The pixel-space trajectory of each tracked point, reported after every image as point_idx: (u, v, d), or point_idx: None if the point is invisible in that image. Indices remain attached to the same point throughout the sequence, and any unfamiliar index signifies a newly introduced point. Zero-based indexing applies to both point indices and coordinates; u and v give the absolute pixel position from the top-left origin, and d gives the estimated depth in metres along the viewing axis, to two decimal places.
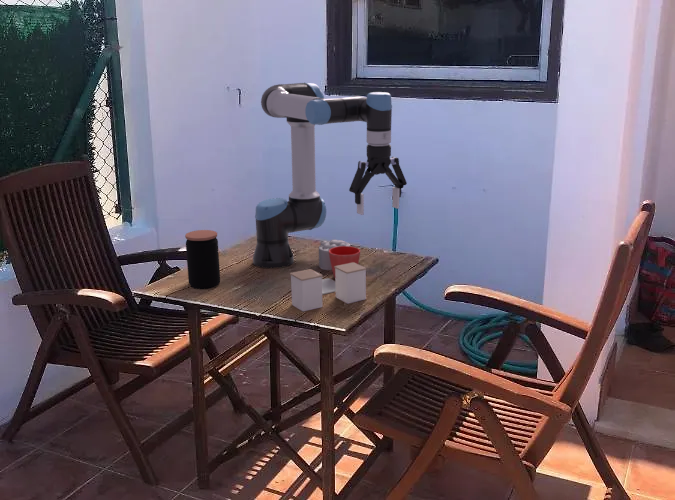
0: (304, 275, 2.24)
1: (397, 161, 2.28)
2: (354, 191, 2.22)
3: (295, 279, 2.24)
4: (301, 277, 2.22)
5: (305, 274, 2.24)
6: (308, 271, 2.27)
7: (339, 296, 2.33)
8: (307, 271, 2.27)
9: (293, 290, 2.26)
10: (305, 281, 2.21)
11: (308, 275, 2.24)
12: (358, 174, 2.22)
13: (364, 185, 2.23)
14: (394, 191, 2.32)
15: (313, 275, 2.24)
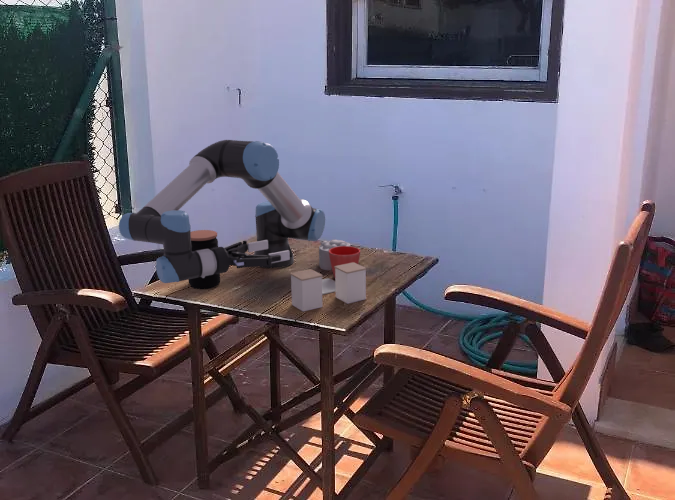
0: (304, 275, 2.24)
1: None
2: None
3: (295, 279, 2.24)
4: (301, 277, 2.22)
5: (305, 274, 2.24)
6: (308, 271, 2.27)
7: (339, 296, 2.33)
8: (307, 271, 2.27)
9: (293, 290, 2.26)
10: (305, 281, 2.21)
11: (308, 275, 2.24)
12: None
13: None
14: None
15: (313, 275, 2.24)
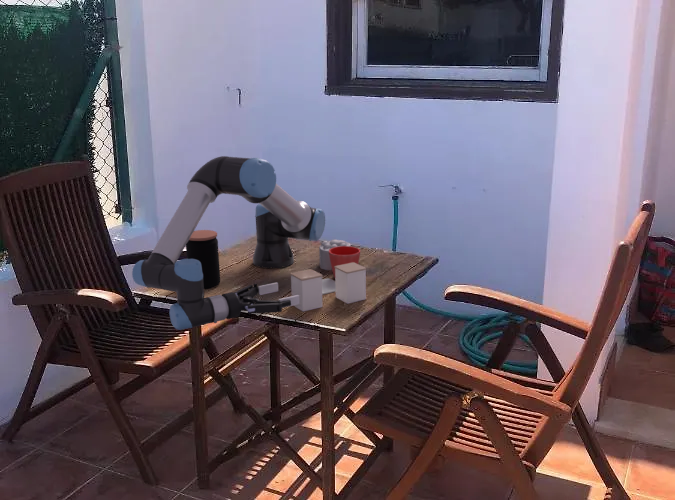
0: (304, 275, 2.24)
1: None
2: None
3: (295, 279, 2.24)
4: (301, 277, 2.22)
5: (305, 274, 2.24)
6: (308, 271, 2.27)
7: (339, 296, 2.33)
8: (307, 271, 2.27)
9: (293, 290, 2.26)
10: (305, 281, 2.21)
11: (308, 275, 2.24)
12: None
13: None
14: None
15: (313, 275, 2.24)
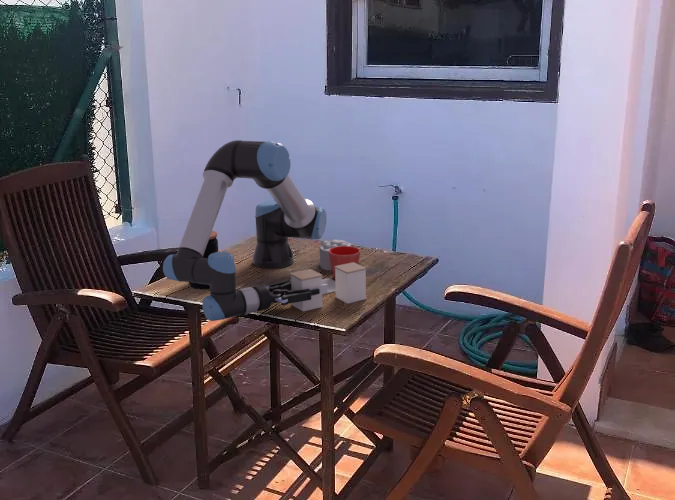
0: (304, 275, 2.24)
1: None
2: None
3: (295, 279, 2.24)
4: (301, 277, 2.22)
5: (305, 274, 2.24)
6: (308, 271, 2.27)
7: (339, 296, 2.33)
8: (307, 271, 2.27)
9: None
10: (305, 281, 2.21)
11: (308, 275, 2.24)
12: None
13: None
14: None
15: (313, 275, 2.24)
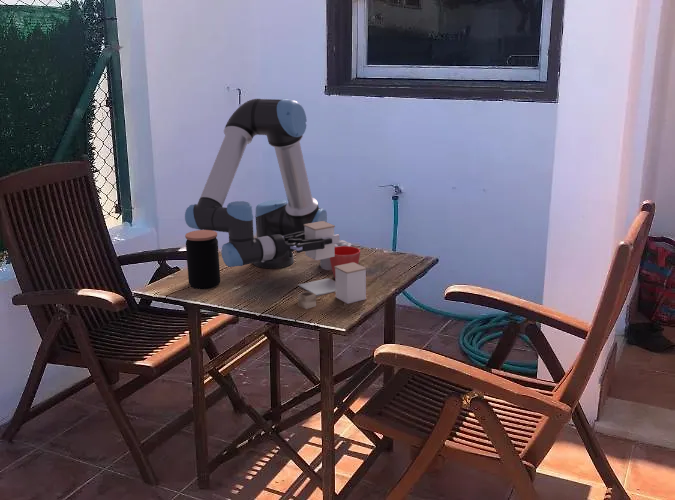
0: (317, 226, 2.35)
1: None
2: None
3: (308, 229, 2.35)
4: (314, 227, 2.33)
5: (318, 225, 2.35)
6: (321, 223, 2.38)
7: (339, 296, 2.33)
8: (320, 222, 2.38)
9: None
10: (318, 231, 2.32)
11: (321, 226, 2.35)
12: None
13: None
14: None
15: (326, 226, 2.34)
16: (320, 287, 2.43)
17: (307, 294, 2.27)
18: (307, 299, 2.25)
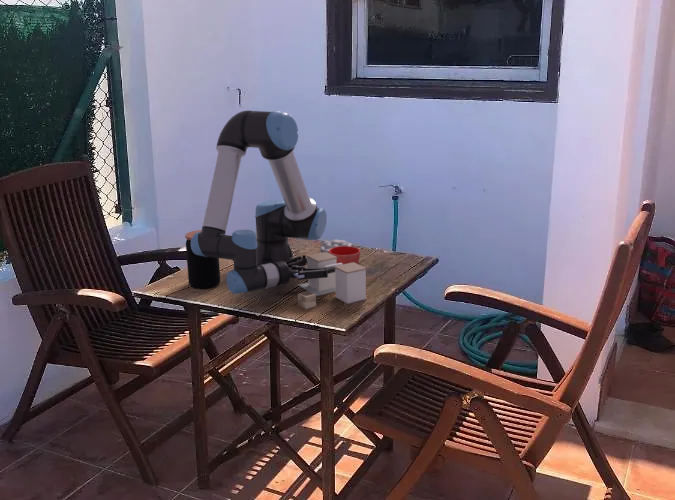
0: (320, 257, 2.40)
1: None
2: None
3: (311, 261, 2.40)
4: (317, 259, 2.38)
5: (320, 256, 2.41)
6: (324, 254, 2.44)
7: (339, 296, 2.33)
8: (322, 254, 2.44)
9: None
10: (321, 262, 2.37)
11: (324, 257, 2.40)
12: None
13: None
14: None
15: (328, 257, 2.40)
16: None
17: (307, 294, 2.27)
18: (307, 299, 2.25)
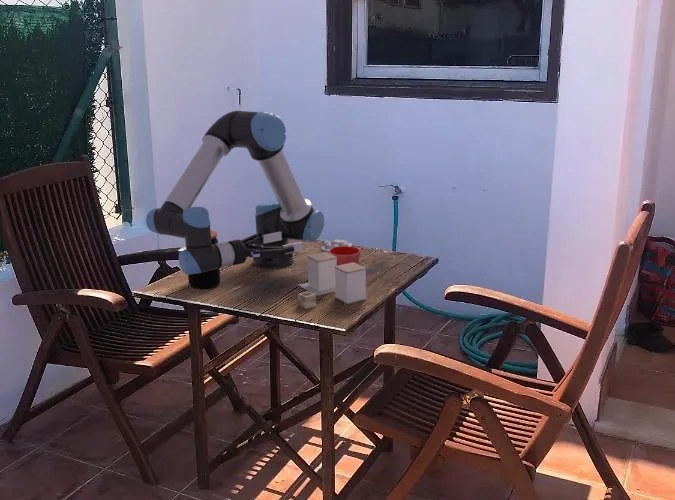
0: (320, 257, 2.40)
1: None
2: None
3: (311, 261, 2.40)
4: (317, 259, 2.38)
5: (320, 256, 2.41)
6: (324, 254, 2.44)
7: (339, 296, 2.33)
8: (322, 254, 2.44)
9: (310, 271, 2.43)
10: (321, 262, 2.37)
11: (324, 257, 2.40)
12: None
13: None
14: None
15: (328, 257, 2.40)
16: None
17: (307, 294, 2.27)
18: (307, 299, 2.25)
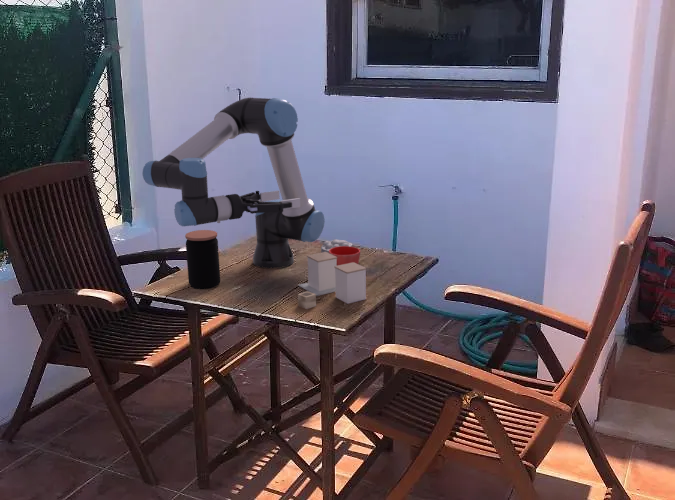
0: (320, 257, 2.40)
1: None
2: None
3: (311, 261, 2.40)
4: (317, 259, 2.38)
5: (320, 256, 2.41)
6: (324, 254, 2.44)
7: (339, 296, 2.33)
8: (322, 254, 2.44)
9: (310, 271, 2.43)
10: (321, 262, 2.37)
11: (324, 257, 2.40)
12: None
13: None
14: None
15: (328, 257, 2.40)
16: None
17: (307, 294, 2.26)
18: (307, 299, 2.25)
